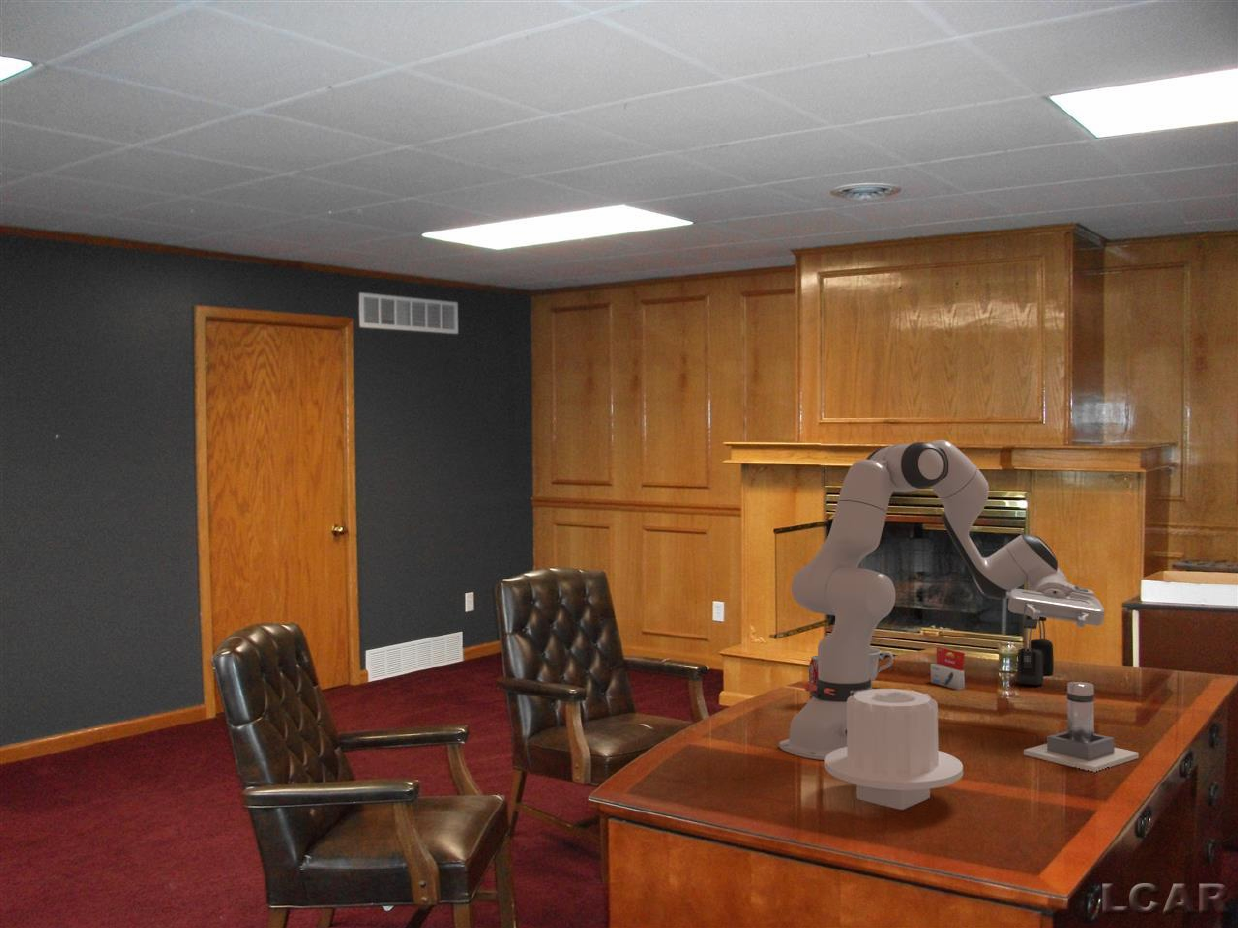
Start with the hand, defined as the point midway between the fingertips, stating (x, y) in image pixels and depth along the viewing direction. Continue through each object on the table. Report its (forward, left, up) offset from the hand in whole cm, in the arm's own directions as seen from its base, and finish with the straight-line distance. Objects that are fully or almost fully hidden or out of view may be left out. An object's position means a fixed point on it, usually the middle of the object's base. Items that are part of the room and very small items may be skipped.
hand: (1058, 619), depth 242 cm
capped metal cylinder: (-8, -10, -26) cm, 28 cm away
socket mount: (-8, -10, -27) cm, 29 cm away
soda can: (-16, +56, -27) cm, 64 cm away
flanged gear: (-59, -4, -27) cm, 65 cm away
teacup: (+7, +63, -27) cm, 69 cm away
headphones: (+50, +40, -27) cm, 70 cm away
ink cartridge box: (+25, +50, -27) cm, 62 cm away
